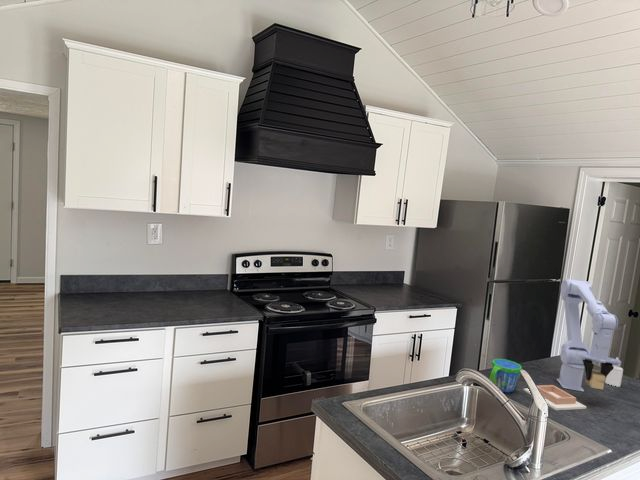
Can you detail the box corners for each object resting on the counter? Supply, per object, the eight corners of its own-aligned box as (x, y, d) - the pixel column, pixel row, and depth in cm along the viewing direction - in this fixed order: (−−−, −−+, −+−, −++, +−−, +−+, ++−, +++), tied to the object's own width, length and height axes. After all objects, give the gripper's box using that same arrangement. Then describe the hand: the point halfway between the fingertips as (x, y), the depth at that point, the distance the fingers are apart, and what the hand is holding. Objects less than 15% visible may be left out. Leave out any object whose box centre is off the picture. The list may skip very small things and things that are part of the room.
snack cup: (498, 397, 169) (503, 370, 168) (477, 384, 178) (481, 359, 177) (528, 393, 175) (532, 367, 174) (506, 381, 185) (510, 357, 184)
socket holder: (523, 390, 177) (524, 383, 177) (552, 389, 182) (553, 382, 181) (555, 410, 162) (557, 402, 162) (586, 408, 167) (587, 400, 166)
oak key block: (585, 381, 174) (587, 368, 174) (596, 383, 174) (598, 370, 173) (591, 387, 169) (593, 374, 168) (603, 389, 168) (605, 376, 167)
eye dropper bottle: (616, 388, 191) (621, 360, 190) (602, 382, 196) (607, 355, 195) (622, 387, 193) (627, 359, 192) (609, 381, 198) (613, 355, 197)
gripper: (583, 345, 167) (577, 381, 169) (627, 352, 164) (620, 388, 166) (576, 339, 174) (570, 374, 175) (618, 346, 171) (612, 381, 173)
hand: (594, 380), depth 171 cm, fingers closed on oak key block, 4 cm apart
